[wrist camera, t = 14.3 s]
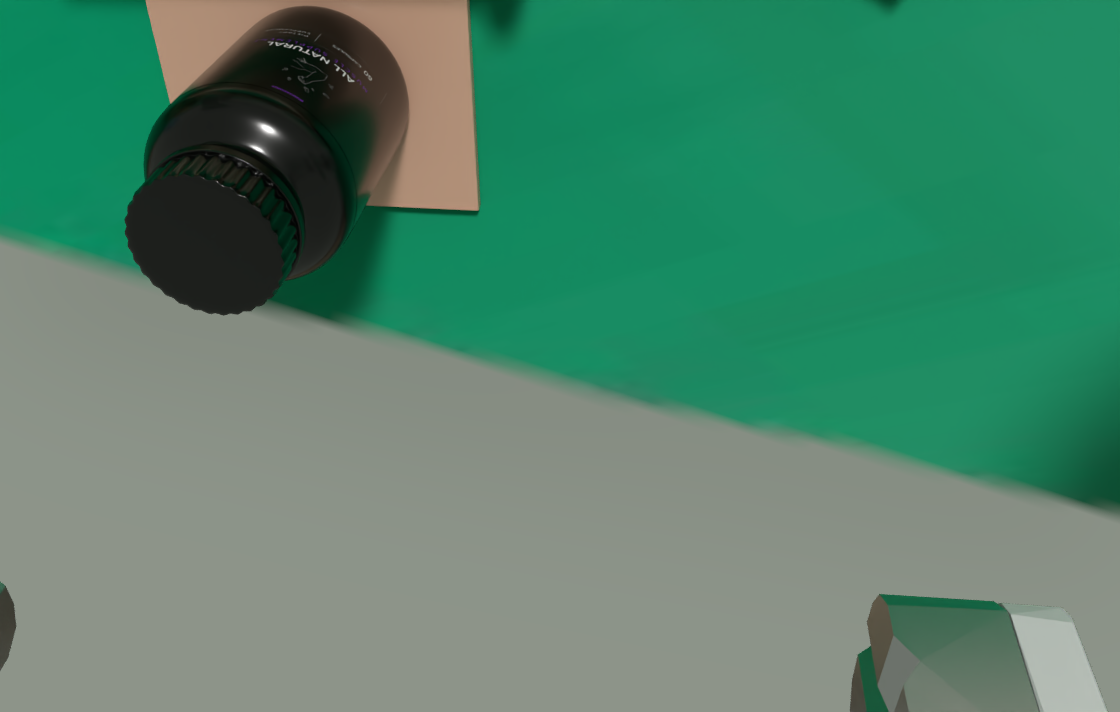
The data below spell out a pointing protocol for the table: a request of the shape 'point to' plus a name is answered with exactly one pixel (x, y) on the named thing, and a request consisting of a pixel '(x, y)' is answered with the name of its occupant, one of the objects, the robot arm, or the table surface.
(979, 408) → the table surface
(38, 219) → the table surface
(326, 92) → the supplement bottle
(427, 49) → the terracotta tile
